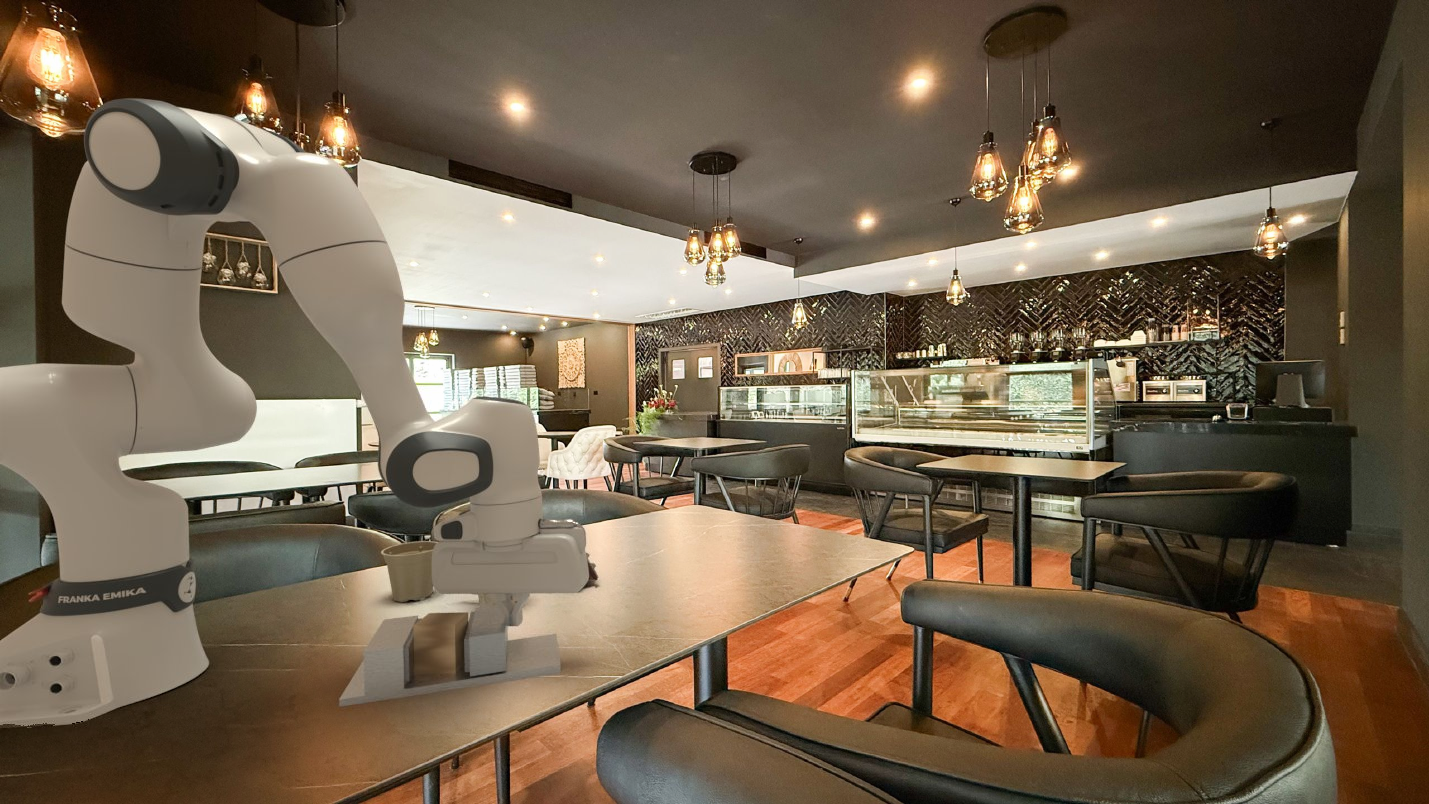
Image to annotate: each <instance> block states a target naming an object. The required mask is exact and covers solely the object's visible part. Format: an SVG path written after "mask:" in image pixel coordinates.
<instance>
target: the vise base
mask: <svg viewBox="0 0 1429 804" xmlns="http://www.w3.org/2000/svg"><path fill="white" fill-rule="evenodd" d="M422 618H423V617H421V618H419V615H410V616H409V615H408V616H402V617H395V618H386V619H383V621H382V622H381V624H380V625H379V627H378V628H377V629H376V632H375V633H374V634H373V636H372V637H371V640H370V641H369V643H368V644H367V646H366V647H365V649H364V650H363V661H362V662H361V663H360V665H359V666H358V668H357V670H356V671H355V673H354V675H353V676H352V678H351V680H350V681H349V683H348V685H347V686H346V688H345V689H344V691H343V692H342V694H341V696H340V697H339V698H338V704H339V705H338V707H345V706H347V707H348V706H354V705H361V704H368V703H374V702H380V701H387V700H393V699H399V698H406V697H412V696H420V695H425V694H426V695H427V694H431V693H440V692H444V691H445V692H446V691H451V690H458V689H465V688H466V689H467V688H472V687H478V686H479V687H480V686H485V685H492V684H498V683H505V682H511V681H519V680H525V679H532V678H537V677H538V678H539V677H545V676H550V675H551V676H553V675H557V674H561V668H562V667H561V665H562V664H561V659H560V652H559V651H560V650H559V645H558V638H557V633H552V634H543V635H538V636H530V637H524V638H517V639H509V640H508V642H507V658H506V671H501V672H495V673H489V674H482V675H476V676H470V672H465V664H464V665H463V666H462V667H461V668H460V669H459V670H458V672H457V673H456V674H416V675H414V633H413V625H415V624H416V623H417V622H418V621H420V620H421V619H422Z"/></svg>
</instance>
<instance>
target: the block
mask: <svg viewBox="0 0 1429 804" xmlns="http://www.w3.org/2000/svg"><path fill="white" fill-rule="evenodd" d="M421 618H422V619H421V620H420V621H418V622H417V623H416V624H415V625H413V633H414V675H416V674H456V673H457V672H458V670H459V669H460V668H461V667H462V666H463V665H464V664H465V655H464V638H465V634H466V630H467V626H468V622H469V612H468V611H467V612H466V611H464V612H429V613H427V614H426V615H425V616H423V617H421Z"/></svg>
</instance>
